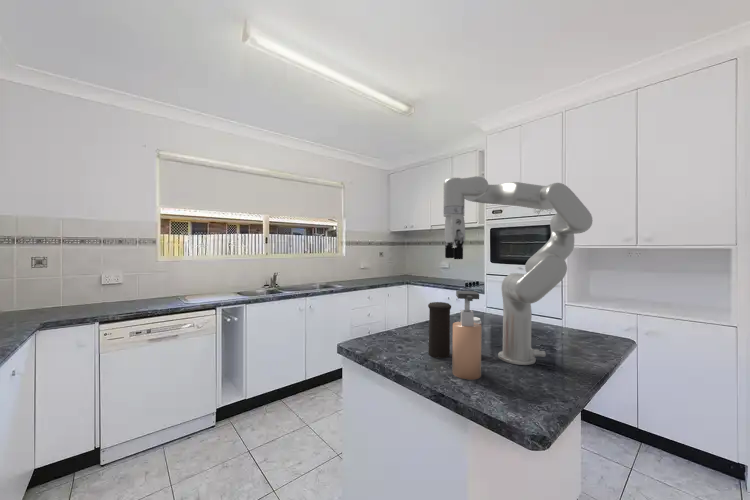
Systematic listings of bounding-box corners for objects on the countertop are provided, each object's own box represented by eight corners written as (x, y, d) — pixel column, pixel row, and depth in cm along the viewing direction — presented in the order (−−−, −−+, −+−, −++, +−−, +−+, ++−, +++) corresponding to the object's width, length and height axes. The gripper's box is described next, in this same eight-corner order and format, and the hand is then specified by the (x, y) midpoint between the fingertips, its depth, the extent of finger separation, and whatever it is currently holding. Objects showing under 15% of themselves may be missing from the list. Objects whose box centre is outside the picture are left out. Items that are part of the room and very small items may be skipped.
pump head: (475, 310, 106) (475, 291, 105) (481, 316, 95) (481, 296, 95) (456, 309, 107) (456, 290, 106) (459, 316, 96) (459, 295, 96)
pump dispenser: (478, 369, 107) (479, 308, 107) (483, 380, 98) (484, 314, 98) (451, 367, 108) (451, 307, 108) (453, 378, 99) (454, 313, 99)
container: (449, 351, 125) (449, 300, 125) (452, 359, 116) (452, 305, 116) (426, 350, 126) (427, 300, 126) (428, 358, 117) (429, 304, 117)
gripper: (473, 209, 109) (472, 259, 109) (455, 214, 126) (455, 257, 126) (451, 209, 108) (451, 259, 108) (437, 214, 125) (437, 257, 125)
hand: (453, 258), depth 117 cm, fingers open, 9 cm apart
